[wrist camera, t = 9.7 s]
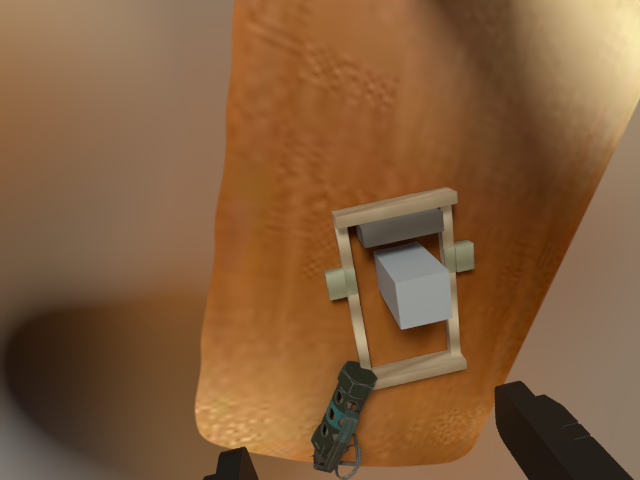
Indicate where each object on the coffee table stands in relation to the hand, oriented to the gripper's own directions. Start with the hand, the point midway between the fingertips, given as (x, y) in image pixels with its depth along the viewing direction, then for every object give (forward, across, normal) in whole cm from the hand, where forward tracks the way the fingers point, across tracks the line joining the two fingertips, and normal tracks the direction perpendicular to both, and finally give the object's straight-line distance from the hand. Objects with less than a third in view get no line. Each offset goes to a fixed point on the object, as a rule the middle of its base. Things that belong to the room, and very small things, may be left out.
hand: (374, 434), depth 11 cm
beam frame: (+28, -8, +12) cm, 31 cm away
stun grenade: (+28, +1, +27) cm, 38 cm away
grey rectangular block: (+28, -8, +9) cm, 30 cm away
